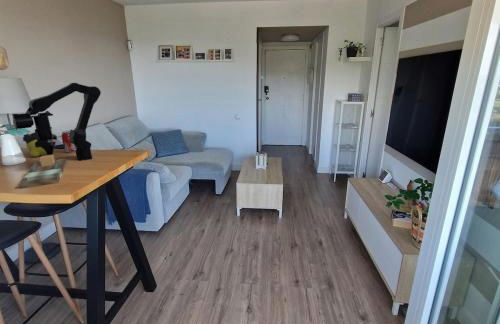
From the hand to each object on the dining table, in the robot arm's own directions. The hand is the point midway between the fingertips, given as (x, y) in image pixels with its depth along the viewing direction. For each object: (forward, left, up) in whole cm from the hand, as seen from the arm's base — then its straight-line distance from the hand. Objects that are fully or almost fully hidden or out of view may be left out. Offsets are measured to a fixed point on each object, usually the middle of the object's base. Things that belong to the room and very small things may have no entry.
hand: (50, 157), depth 135 cm
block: (0, +8, -2) cm, 8 cm away
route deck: (0, +15, -4) cm, 16 cm away
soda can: (-6, -28, -4) cm, 29 cm away
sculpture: (+8, -28, -4) cm, 29 cm away
